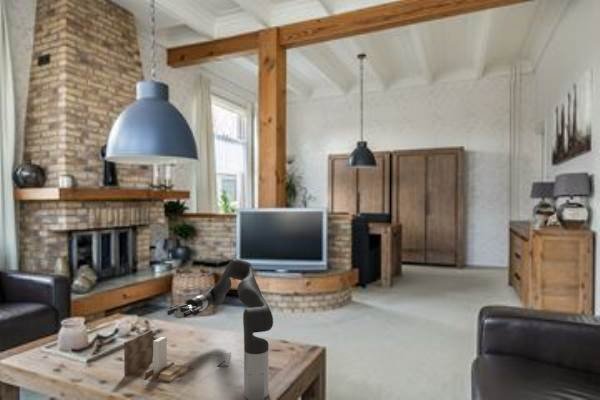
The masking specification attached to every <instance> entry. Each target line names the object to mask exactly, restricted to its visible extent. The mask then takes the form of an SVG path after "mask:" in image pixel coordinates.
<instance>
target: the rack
mask: <svg viewBox="0 0 600 400" xmlns="http://www.w3.org/2000/svg"><path fill="white" fill-rule="evenodd" d="M153 333H154V331H153V329H150V330H148V331H145V332H143V333H140V334H139V335H137V336H135V337H133V338H130V339H129V340H127V341H124V342H123V349H124V350H123V353H124V355H123V356H124V357H123V358H124V363H123V366H124V367H123V368H124V373H123V374H124V377H128V378H134V379H138V380H142V381H143V380H144V381H149V382H150V381H151V382H154V383H155V382H156V383H161V384H164V385H165V384H166V385H173V384H175V382H177V381H178V380H180V379H182V377H184V376H185V375H186V374H189V373H190V372H191V371H192V370H193V369H195V368H194V367H190V366H188V365H187V366H186V365H181V364H175V361H174V362H173V361H172V362H170V363H167V366H165V367H164V368H162V369H161V370H159V371H157V372H156V373H154V374H153Z"/></svg>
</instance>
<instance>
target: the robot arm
mask: <svg viewBox="0 0 600 400" xmlns="http://www.w3.org/2000/svg"><path fill="white" fill-rule="evenodd" d="M231 279H234V280H239V281H240V282H239V283H238V285H237V288H236V289H237V295H238V298H239V300H240V302H241V303H242V304H243V305H244V306H246V307H247V308H245V309H244V310H243V314H242V320H243V321H242V324H243V346H244V347H243V349H244V350H243V355H244V356H243V362H244V363H243V365H244V366H243V371H244V372H243V374H244V375H243V377H244V378H243V384H244V385H243V390H244V391H243V392H244V393H243V394H244V398H246V399H247V400H266V398H267V397H268V396H269V387H270V385H269V380H270V379H269V377H270V376H269V375H270V373H269V367H270V365H269V364H270V363H269V360H270V359H269V355H270V354H269V352H270V351H269V347H270V346H269V342H268V340H266V339H265V338H263V337H257V336H256V335H254V334H255V333H256V334H257V333H264V332H269V331H271V329H272V328H273V326H274V316H273V314H272V310H271V308H270V307H269V304H268V303H267V302H266V300H265V299H264V296H263V295H262V291H261V289H260V287H259V286H260V285H259V284H258V283H257V280H256V277H255V274H254V269H253V266H252V264H251V263H250V262H249V261H247V260H242V259H238V258H232V259H231V260H230V261H229V263H228V264H227V266H226V267H225V268H224V270H223V273H222V275H221V277H220V278H219V280H218V281H217V282H216V284H215V285H214V286H213V285H211V286H209V287H208V288H207V289H206V290H205V291H204V292H203V293H202V294H199V295H196V296H194V297H191V298H188V299H187V300H186V302H185V303H184V304H179V303H177V304H174V305H171V306H169V309H168V310H167V316H171V315H174V314H183V318H187V317H189V316H198V315H199V314H201V313H202V312H203V310H205V309H207V308H208V307H210V306H213V307H219V306H220V305H221V304H222V303H223V302H224V301H225V299H226V294H227V293H228V292H229V291H230V289H231V288H232V280H231Z"/></svg>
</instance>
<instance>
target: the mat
mask: <svg viewBox="0 0 600 400" xmlns="http://www.w3.org/2000/svg"><path fill="white" fill-rule="evenodd" d="M231 355H232V354H231V352H218V353H217V352H216V353H200V355H199V356H200V357H203V358H204V357H205V358H212V359H218V360H224V361H222V362H221V363H220V364H218V365H217V366H216V368H229V364H230V359H231Z"/></svg>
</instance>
